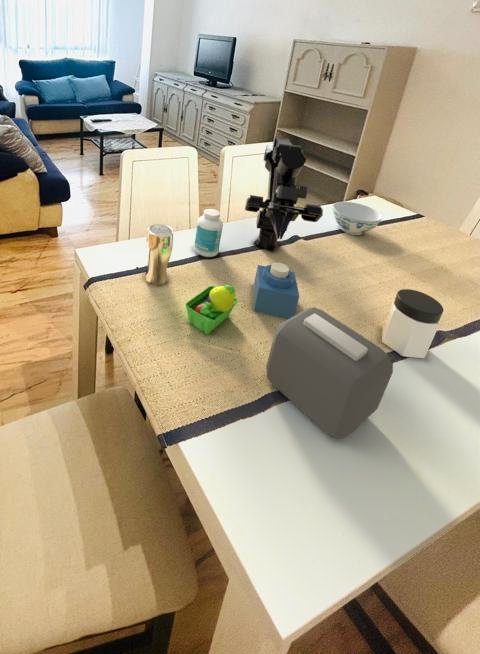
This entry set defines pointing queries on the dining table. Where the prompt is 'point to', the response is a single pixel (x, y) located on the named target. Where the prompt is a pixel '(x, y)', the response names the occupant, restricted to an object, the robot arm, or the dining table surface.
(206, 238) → the pill bottle
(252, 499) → the dining table surface
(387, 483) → the dining table surface
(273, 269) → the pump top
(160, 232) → the beer glass
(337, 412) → the alarm clock
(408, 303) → the jar
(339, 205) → the chinaware
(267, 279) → the soap bottle
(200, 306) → the fruit basket
